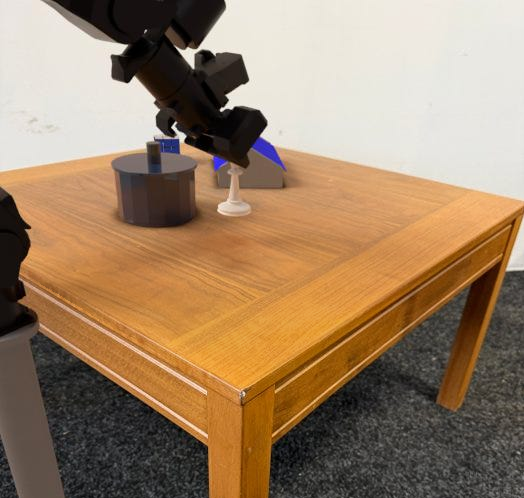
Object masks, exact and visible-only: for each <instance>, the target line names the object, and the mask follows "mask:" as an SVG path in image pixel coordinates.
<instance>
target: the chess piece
mask: <svg viewBox="0 0 524 498" xmlns="http://www.w3.org/2000/svg"><path fill="white" fill-rule="evenodd" d="M230 165H231V169H230V170H228V172H227V173H228V174H230V175H232V176H231V185H230V188H229V193H228V197H227V198H226V201H223V202H220V203H219V204H218V205H217V213H219V214H220V215H222V216H226V217H245V216H247V215H249V214H251V213H252V210H251V207H252V206H251V205H250V204H248V203H247V202H244V201H243V199H242V198H241V193H240V188H239V181H238V175H241V174H242V171H241V170H239V169H238V168H239V166H238V165H235V164H233V163H231V162H230Z"/></svg>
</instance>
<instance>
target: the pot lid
mask: <svg viewBox="0 0 524 498" xmlns="http://www.w3.org/2000/svg"><path fill="white" fill-rule="evenodd" d="M145 149H146V151H145V152H136V153H129V154H124V155H121V156H118V157H116V158H114V159H112V160H111V161H110V168H111V169H112V170H113V171H114V170H115V171H116V172H119V173H122V174H126V175H132V176H141V177H166V176H175V175H180V174H185V173H188V172H191V171H193V170H195V171H196V169H197V168H198V161H197V159H195V158H194V157H191V156H188V155H186V154H181V153H180V154H175V153H164V152H161V147H160V142H157V141H154V140H151V141H146V142H145Z"/></svg>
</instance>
